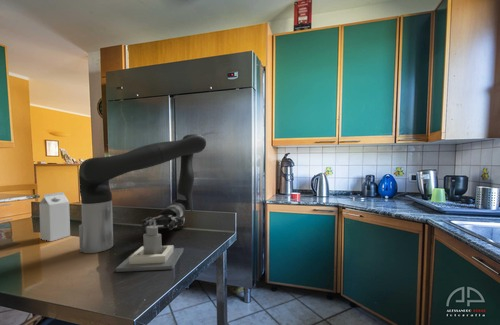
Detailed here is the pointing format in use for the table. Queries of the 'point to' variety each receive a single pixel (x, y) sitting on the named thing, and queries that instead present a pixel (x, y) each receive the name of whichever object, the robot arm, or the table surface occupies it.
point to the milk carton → (54, 217)
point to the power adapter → (152, 240)
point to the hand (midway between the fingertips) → (157, 227)
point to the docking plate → (151, 260)
